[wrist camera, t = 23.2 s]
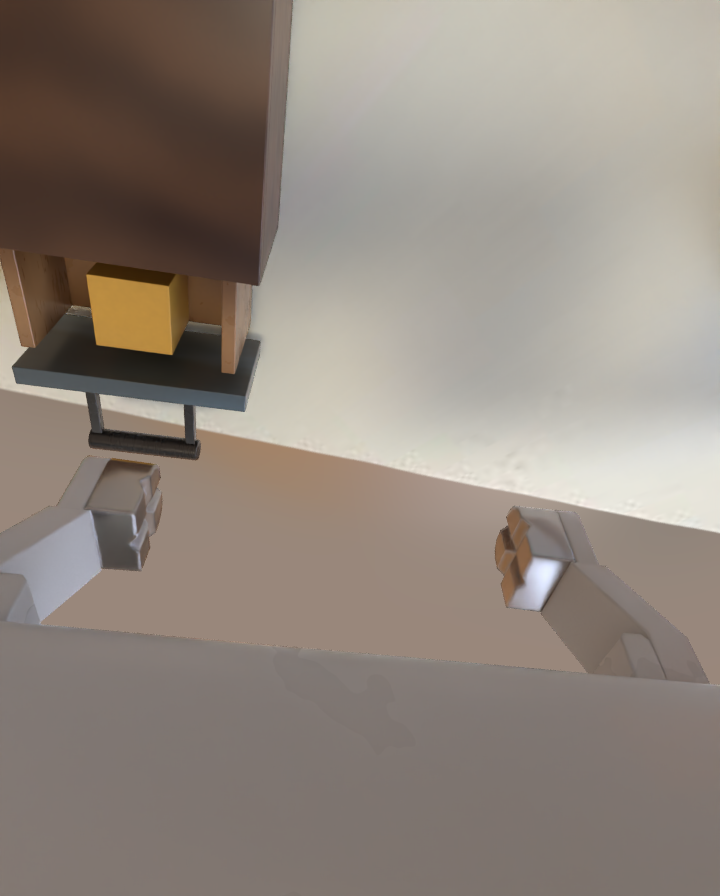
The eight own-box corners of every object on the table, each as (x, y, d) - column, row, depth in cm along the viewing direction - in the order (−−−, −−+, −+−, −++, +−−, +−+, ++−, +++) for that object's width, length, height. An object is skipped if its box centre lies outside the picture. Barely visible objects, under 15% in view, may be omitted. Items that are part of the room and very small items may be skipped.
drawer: (256, 417, 44) (242, 478, 39) (73, 395, 43) (34, 454, 38) (272, 125, 32) (254, 156, 27) (15, 81, 30) (-57, 104, 25)
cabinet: (278, 228, 36) (259, 286, 30) (32, 190, 35) (-45, 242, 28) (300, -116, 26) (280, -145, 20) (-40, -189, 25) (-185, -247, 18)
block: (187, 255, 35) (169, 286, 32) (189, 320, 38) (172, 355, 35) (112, 244, 35) (85, 274, 31) (119, 311, 38) (95, 345, 34)
